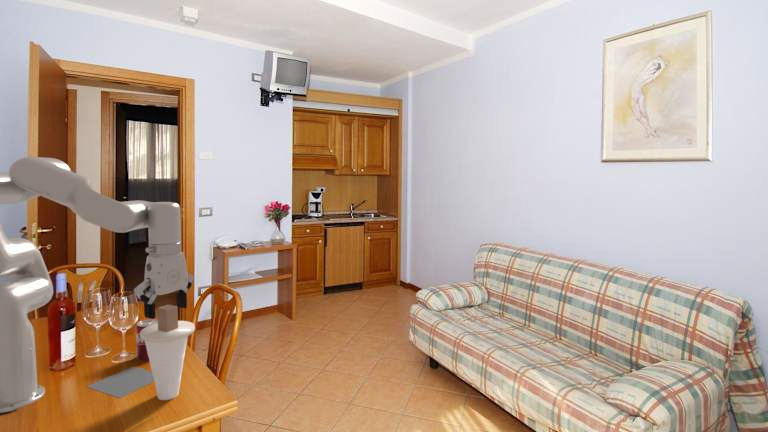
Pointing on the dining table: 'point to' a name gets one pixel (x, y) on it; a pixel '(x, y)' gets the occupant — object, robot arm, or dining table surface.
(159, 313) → the lid
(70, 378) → the dining table surface
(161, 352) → the cup
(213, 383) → the dining table surface
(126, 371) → the mat
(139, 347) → the soda can
